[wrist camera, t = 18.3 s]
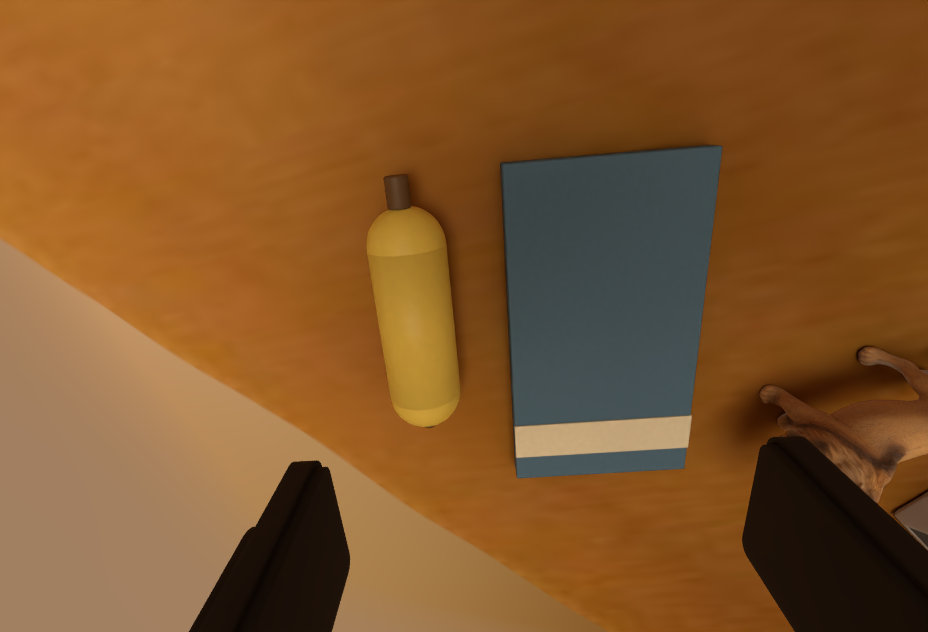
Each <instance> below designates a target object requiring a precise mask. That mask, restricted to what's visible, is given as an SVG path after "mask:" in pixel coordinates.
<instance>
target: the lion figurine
mask: <svg viewBox="0 0 928 632" xmlns="http://www.w3.org/2000/svg"><path fill="white" fill-rule="evenodd" d="M858 358H859V362H860V363H861V364H863V365H867V366H868V365H875V364H883V365H887V366H890V367H892V368H894V369H896V370H897V371H899V372H901V374H902V375H903V376H904V377H905V379H906V380H907V382H908V383H909V384H910V386H911V387H912V388H913V389H914V390H915V391H916V393H917V394H918V395H919V396H920V397H919V399H918V400H914V401H900V400H870V401H864V402H859V403H855V404H852V405H849V406H847V407H844V408H842V409H840V410H838V411H836V412H834V413H832V414H830V415H829V414H827V413H825V412H822V411H819V410H817V409H814V408H812V407H810V406H809V405H807V404H805V403H803V402H802V401H800V400H798V399H797V398H795V397H794V396H792V395H791V394H789V393H788V392H787V391H785V390H783V389H781V388H779V387H776V386H773V385H767V386H764V387H763V388H762V389H761V391H760V394H759V396H760V398H761V399H762V401H763V402H764V403H771V402H772V403H774V404H775V405H778V406H781V407H782V408H783V409H784V411H785V412H786V413H784V414H782V415H781V416H780V417H778V419H777V425H778V427H780V428H782V429H783V430H788V431H787V432H786V434H785V435H782V436H780V437H787V436H802V437H805V438H806V439H808V440H809V441H810V442H811V443H812V444H813V445H814V446H815V447H816V448H818V449H819V450H820V451H821V452H822V453H823V454H824V455H825V456H826V457H827V458H828V459H829V460H831V461H832V462H833V463H834V464H835V465H836V466H837V467H838V468H839V469H840V470H841V471H842V472H843V473H845V474H846V475H847V476H848V477H849V478H850V479H851V480H852V481H853V482H854V483H855V484H856V485H857V486H859V487H860V488H861V489H862V490H863V491H864V492H865V493H866V494H867V495H868V496H869V497H870V498H871V499H873V500H874V501H875V502H876V503H878V502H879V500H880V495H881V494H882V491H883V489H884V488H885V485H886V484H887V483H889V482H890V481H891V479H892V477H893V475H894V472H895V470H896V466H897V463H900V462H902V461H905V460H908V459H911V458H914V457H918V456H921V455H925V454H928V370H919V368H918V367H917V366H916V365H915V364H914V363H913V362H911V361H908V360H906V359H902V358H899V357H897V356H894V355H891V354H889V353H887V352H885V351H883V350H881V349H878V348H875V347H865V348H863V349H862V350H861V351H860V352H859V353H858Z"/></svg>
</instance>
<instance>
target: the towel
mask: <svg viewBox="0 0 928 632" xmlns="http://www.w3.org/2000/svg"><path fill="white" fill-rule="evenodd" d="M721 154H722V146H718V145H703V146H691V147H679V148H667V149H655V150H644V151H632V152H620V153H608V154H596V155H584V156H573V157H561V158H549V159H537V160H525V161H513V162H502V163H500V169H501V189H502V210H503V230H504V250H505V271H506V291H507V311H508V332H509V352H510V372H511V393H512V413H513V433H514V454H515V467H516V474H517V478H532V477H549V476H566V475H583V474H600V473H617V472H634V471H651V470H668V469H684V465H685V457H686V448H688V442H689V434H690V426H691V417H692V416H691V406H692V398H693V390H694V381H695V373H696V364H697V356H698V348H699V339H700V331H701V322H702V314H703V305H704V297H705V289H706V280H707V272H708V263H709V255H710V247H711V238H712V230H713V221H714V213H715V205H716V196H717V188H718V179H719V171H720V163H721Z"/></svg>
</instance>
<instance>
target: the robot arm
mask: <svg viewBox="0 0 928 632" xmlns="http://www.w3.org/2000/svg"><path fill="white" fill-rule="evenodd" d="M742 543H743V548H744V551H745V553H746V555H747V557H748V559H749V561H750V562H751V564H752V565H753V567H754V568H755V570H756V572H757V573H758V575H759V576H760V578H761V579H762V581H763V582H764V584H765V586H766V587H767V589H768V590H769V592H770V593H771V595H772V597H773V598H774V600H775V601H776V603H777V604H778V606H779V608H780V609H781V611H782V612H783V614H784V615H785V617H786V618H787V620H788V622H789V623H790V625H791V626H792V628H793V629H794V631H795V632H928V551H927V550H926V549H925V548H924V547H923V546H922V545H921V544H920V543H919V542H918V541H917V540H916V539H915V538H913V537H912V536H911V535H910V534H909V533H908V532H907V531H906V530H905V529H904V528H903V527H902V526H901V525H899V524H898V523H897V522H896V521H895V520H894V519H893V518H892V517H891V516H890V515H889V514H888V513H887V512H885V511H884V510H883V509H882V508H881V507H880V506H879V505H878V504H877V503H876V502H875V501H874V500H873V499H871V498H870V497H869V496H868V495H867V494H866V493H865V492H864V491H863V490H862V489H861V488H860V487H859V486H857V485H856V484H855V483H854V482H853V481H852V480H851V479H850V478H849V477H848V476H847V475H846V474H845V473H843V472H842V471H841V470H840V469H839V468H838V467H837V466H836V465H835V464H834V463H833V462H832V461H831V460H829V459H828V458H827V457H826V456H825V455H824V454H823V453H822V452H821V451H820V450H819V449H818V448H816V447H815V446H814V445H813V444H812V443H811V442H810V441H809V440H808V439H806V438H805V437H802V436H787V437H773V438H770V439H769V440H768V442H767V445H762V447H761V448H760V451H759V456H758V461H757V466H756V471H755V476H754V481H753V486H752V491H751V496H750V501H749V506H748V511H747V516H746V521H745V526H744V531H743V537H742ZM349 566H350V554H349V550H348V545H347V541H346V537H345V533H344V528H343V524H342V520H341V516H340V511H339V507H338V503H337V499H336V495H335V490H334V486H333V482H332V478H331V474H330V470H329V468H328V467H322V465H321V463H320V462H319V461H300V462H292V463H291V464H290V465H289V467H288V469H287V471H286V473H285V474H284V476H283V478H282V480H281V482H280V483H279V485H278V487H277V489H276V491H275V492H274V494H273V496H272V498H271V500H270V501H269V503H268V505H267V507H266V508H265V510H264V512H263V514H262V516H261V518H260V519H259V521H258V523H257V525H256V527H252V528H250V529H249V530H248V531H247V532H246V533H245V535H244V536H243V538H242V539H241V541H240V543H239V545H238V547H237V548H236V550H235V552H234V553H233V555H232V557H231V559H230V561H229V562H228V564H227V566H226V567H225V569H224V571H223V573H222V574H221V576H220V578H219V580H218V582H217V583H216V585H215V587H214V589H213V590H212V592H211V594H210V596H209V598H208V599H207V601H206V603H205V604H204V606H203V608H202V610H201V611H200V614H199V615H198V617H197V618H196V620H195V622H194V624H193V625H192V627H191V629H190V631H189V632H332V629H333V625H334V622H335V618H336V615H337V611H338V608H339V604H340V601H341V597H342V594H343V590H344V587H345V583H346V579H347V576H348V572H349Z"/></svg>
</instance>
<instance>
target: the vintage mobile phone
mask: <svg viewBox="0 0 928 632" xmlns="http://www.w3.org/2000/svg"><path fill="white" fill-rule="evenodd" d="M894 516H895V517H896V518H897V519H898V520H899V521H900V522H901V523H902V524H903V525H904V526H905V527H906V529H907V530H908V531H909V532H910V533H911V534H912V535H913V536H914V537H915V538H916V539H917V540H918V541H919V542H920V543H921V544H922V545H923V546H924V547H925V548H926V549H928V492H927V493H925V494H923V495H922V496H920V497H918V498H917V499H915V500H913V501H912V502H910V503H908V504H907V505H905V506H903V507H902V508H900V509H898V510H897V511H895V514H894Z"/></svg>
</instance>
